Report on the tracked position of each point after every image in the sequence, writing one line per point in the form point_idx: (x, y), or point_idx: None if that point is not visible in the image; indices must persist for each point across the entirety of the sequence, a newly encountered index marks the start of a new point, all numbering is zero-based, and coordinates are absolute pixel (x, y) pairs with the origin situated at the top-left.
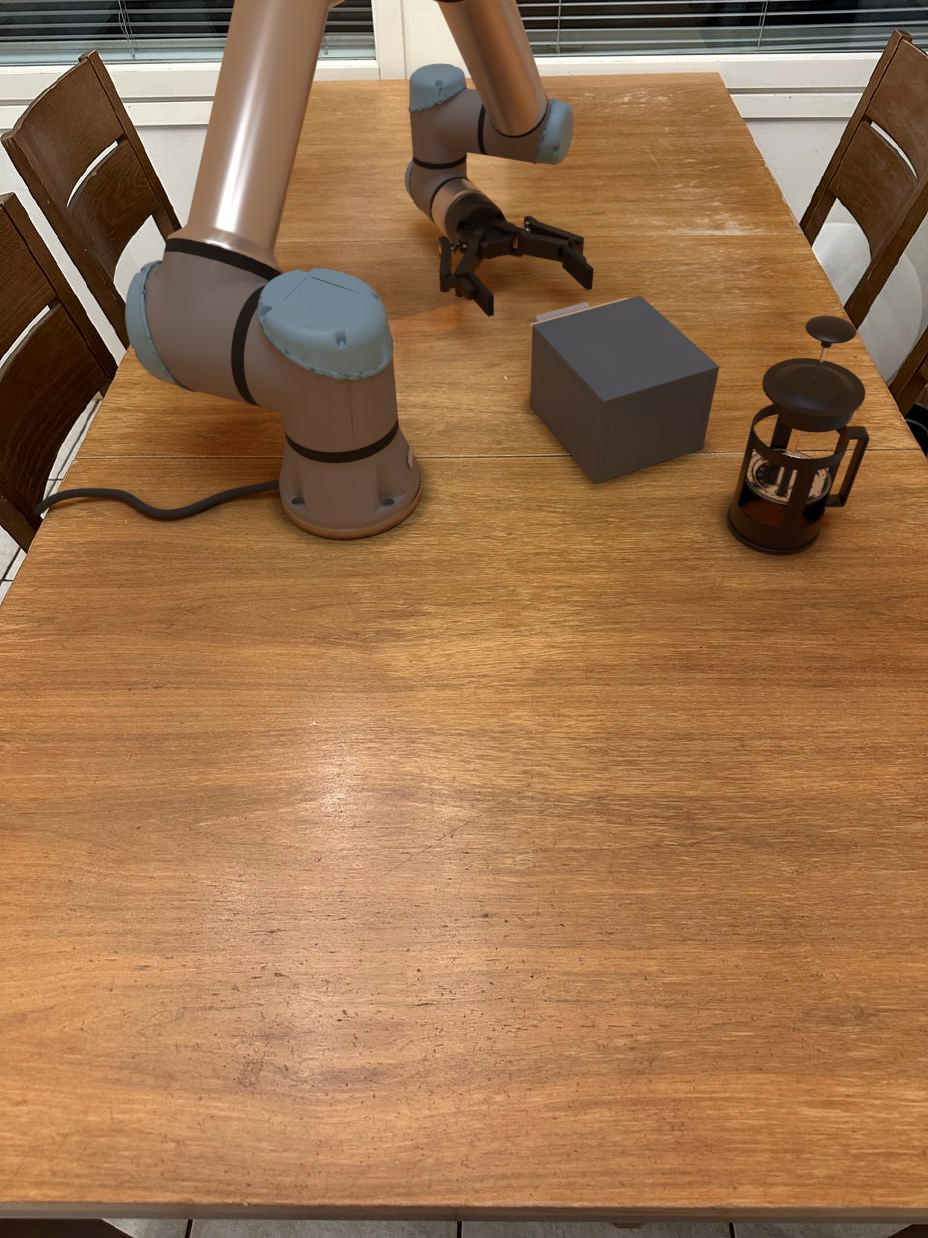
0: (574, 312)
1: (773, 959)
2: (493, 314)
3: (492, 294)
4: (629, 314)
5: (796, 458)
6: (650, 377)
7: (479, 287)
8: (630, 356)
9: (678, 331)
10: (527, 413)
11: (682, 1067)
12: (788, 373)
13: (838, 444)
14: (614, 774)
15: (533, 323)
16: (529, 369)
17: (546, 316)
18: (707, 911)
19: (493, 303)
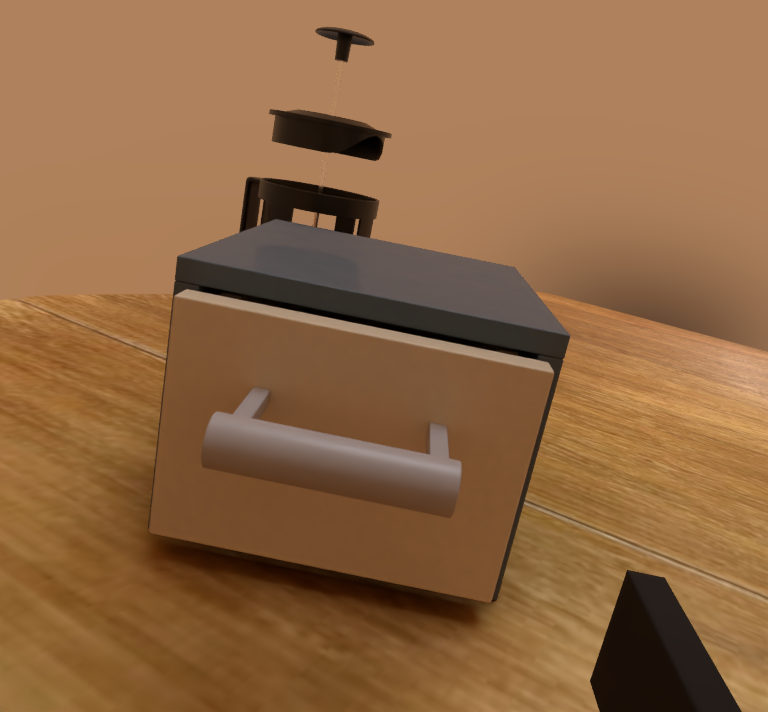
0: (386, 337)
1: (553, 311)
2: (594, 676)
3: (634, 578)
4: (286, 261)
5: (362, 195)
6: (403, 248)
7: (713, 666)
8: (398, 258)
9: (245, 232)
10: (515, 588)
11: (619, 320)
12: (345, 118)
13: (266, 207)
14: (606, 352)
15: (543, 369)
16: (510, 529)
17: (417, 452)
18: (577, 323)
19: (613, 617)
